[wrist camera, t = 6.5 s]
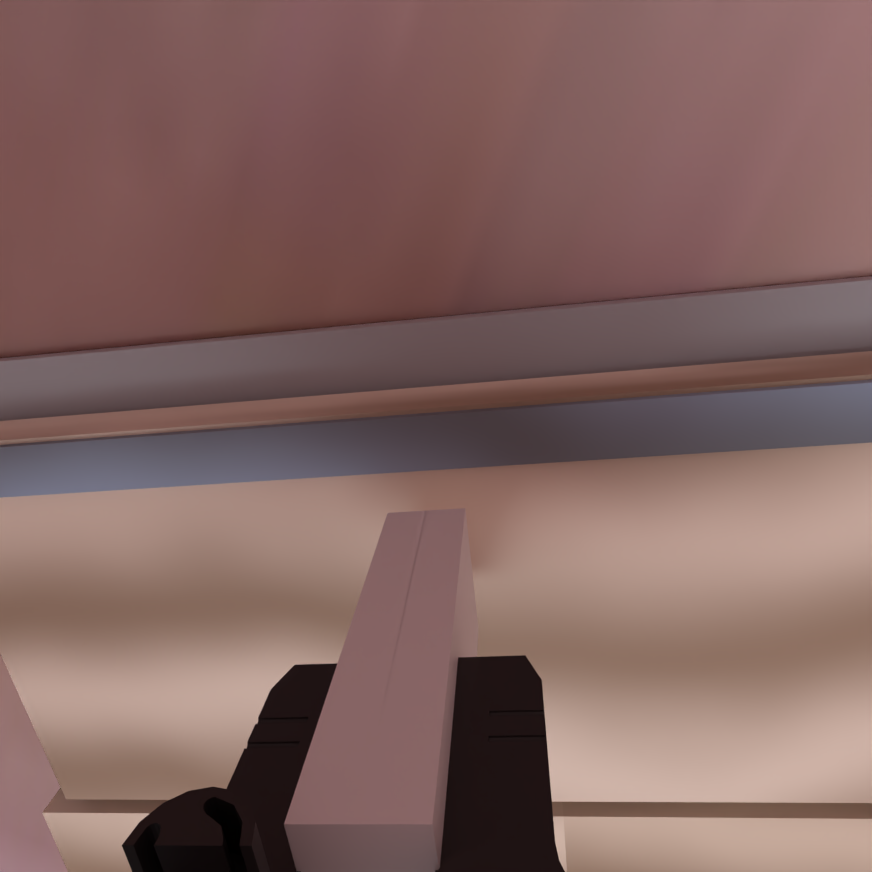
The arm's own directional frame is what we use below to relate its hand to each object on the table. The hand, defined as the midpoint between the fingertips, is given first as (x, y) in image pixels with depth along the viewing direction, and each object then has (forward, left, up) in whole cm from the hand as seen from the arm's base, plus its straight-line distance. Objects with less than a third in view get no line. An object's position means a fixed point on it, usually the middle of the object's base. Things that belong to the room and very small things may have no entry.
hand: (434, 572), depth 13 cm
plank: (+3, +2, -3) cm, 5 cm away
